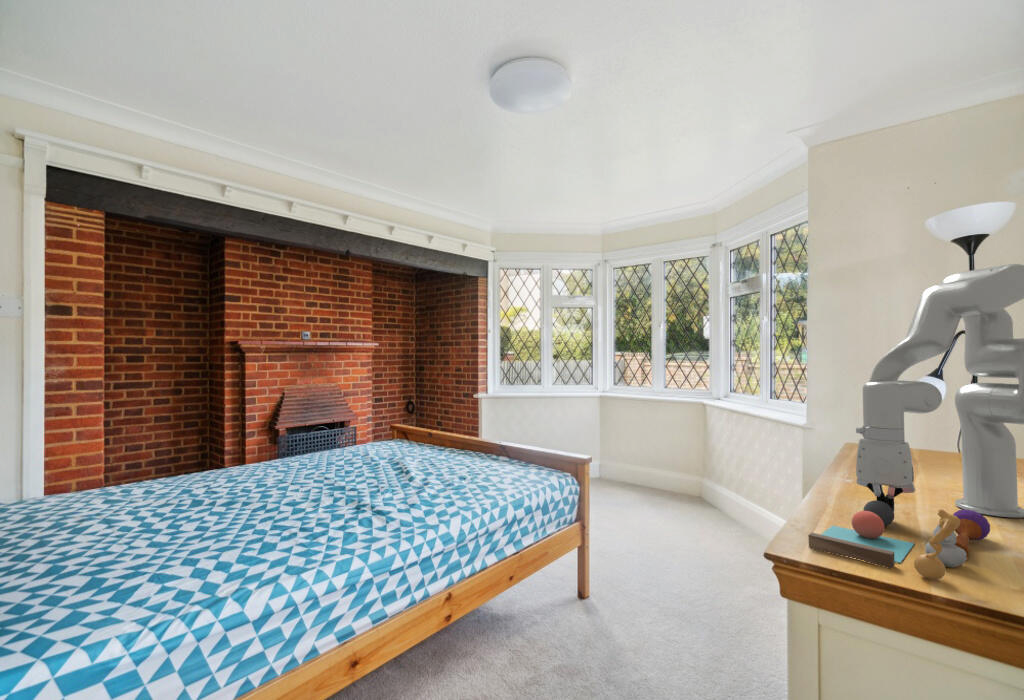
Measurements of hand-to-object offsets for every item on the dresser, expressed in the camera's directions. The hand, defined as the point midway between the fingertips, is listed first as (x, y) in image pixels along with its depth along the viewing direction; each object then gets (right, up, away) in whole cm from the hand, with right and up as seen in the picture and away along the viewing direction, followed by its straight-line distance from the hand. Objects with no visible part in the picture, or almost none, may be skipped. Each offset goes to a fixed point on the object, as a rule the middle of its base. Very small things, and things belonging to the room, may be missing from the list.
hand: (885, 513), depth 109 cm
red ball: (-13, +2, -11) cm, 17 cm away
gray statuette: (-8, -1, -24) cm, 25 cm away
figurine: (-16, -1, -31) cm, 34 cm away
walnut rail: (-23, -1, -21) cm, 31 cm away
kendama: (+4, -2, -15) cm, 16 cm away
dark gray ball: (-4, +1, -4) cm, 6 cm away
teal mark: (-16, -1, -14) cm, 21 cm away
